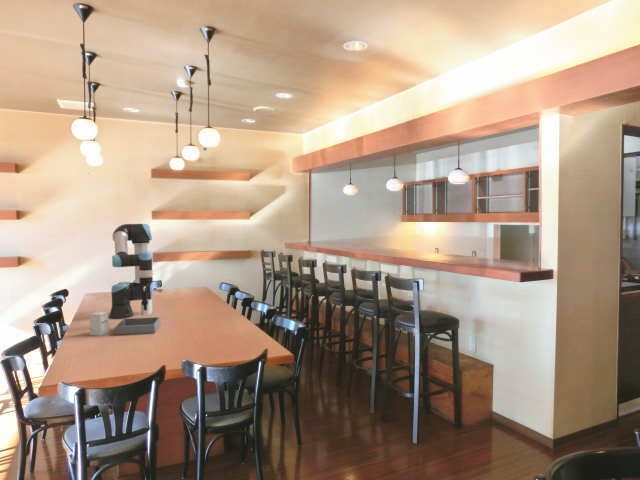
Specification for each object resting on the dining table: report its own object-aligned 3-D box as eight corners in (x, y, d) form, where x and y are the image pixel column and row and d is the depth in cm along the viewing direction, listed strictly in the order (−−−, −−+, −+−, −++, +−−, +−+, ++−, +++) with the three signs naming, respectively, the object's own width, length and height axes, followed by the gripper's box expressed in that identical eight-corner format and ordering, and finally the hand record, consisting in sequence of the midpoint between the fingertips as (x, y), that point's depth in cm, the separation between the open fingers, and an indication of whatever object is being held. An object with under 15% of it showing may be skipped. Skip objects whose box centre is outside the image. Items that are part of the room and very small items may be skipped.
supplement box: (100, 336, 258) (100, 314, 258) (89, 335, 260) (89, 314, 259) (109, 332, 265) (108, 311, 265) (98, 332, 267) (97, 311, 266)
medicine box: (145, 312, 276) (144, 299, 275) (152, 312, 276) (152, 298, 276) (141, 315, 268) (140, 301, 267) (148, 315, 268) (148, 301, 268)
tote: (124, 326, 280) (123, 318, 280) (160, 324, 284) (160, 317, 284) (115, 335, 259) (114, 327, 258) (154, 333, 263) (154, 325, 263)
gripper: (142, 275, 280) (144, 310, 281) (135, 279, 260) (136, 317, 261) (155, 274, 282) (156, 310, 283) (149, 278, 261) (150, 317, 262)
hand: (147, 313), depth 272 cm, fingers closed on medicine box, 8 cm apart
